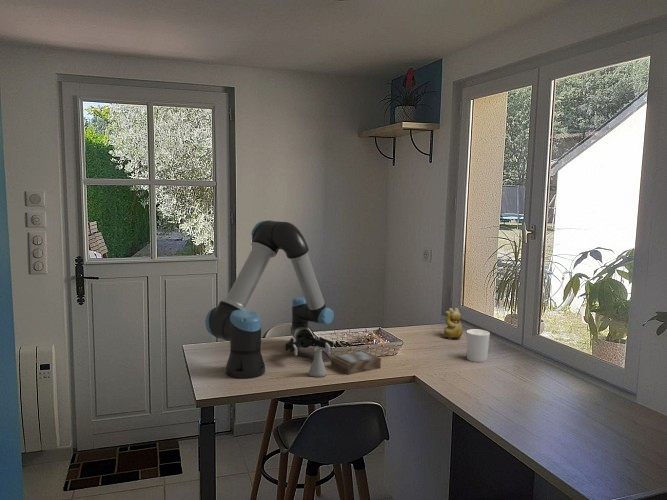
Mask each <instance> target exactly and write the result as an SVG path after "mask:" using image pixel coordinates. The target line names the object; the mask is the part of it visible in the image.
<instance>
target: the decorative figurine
mask: <svg viewBox="0 0 667 500" xmlns="http://www.w3.org/2000/svg"><path fill="white" fill-rule="evenodd" d="M444 314H445V315H446V318H445V323H446V325H447V327H445V328H444V329H443V337H445V338H446V337H448V338H447V339H449V338H450V339H449V340H451V339H453V340H458V339H457V338H459V339H460V338H461V337H462V335H463V326H462V323H461V319H462V314H461V313H460V310H459V308H458V307H455V308H454V309H453V308H452V307H449V308H448V310H446V311H444Z"/></svg>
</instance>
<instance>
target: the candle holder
mask: <svg viewBox="0 0 667 500" xmlns="http://www.w3.org/2000/svg"><path fill="white" fill-rule="evenodd" d="M490 336H491V333H490V331H487V330H485V329H480V328H479V329H476V328H474V329H472V328H471V329H467V330H466V359H467V360H468V361H471V362H475V363H484V362H487V360H488V354H489V353H488V352H489V344H490Z"/></svg>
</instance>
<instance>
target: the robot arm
mask: <svg viewBox="0 0 667 500" xmlns="http://www.w3.org/2000/svg"><path fill="white" fill-rule="evenodd" d="M251 240H252V241H251V243H250V246H251V251H250V252H249V254H248V256H247V259H246V261H244V263H243V266H242V267H241V270H240V272H239V273H238V275H237V277H236V279H235V281H234V282H233V284H232V287H231V288H230V290H229V292H228V293H227V295H226V298H224V299H222V300H220V301H219V304H218V305H217V306H216V307H213V308H211V309H210V310H209V311H208V312H207V314H206V316H205V319H204V320H205V321H204V322H205V323H204V324H205V327H206V331H207V332H208V333H209V334H210V335H211V336H213V337H215V338H216V339H222V340H224V341H228V342H229V345H230V347H229V348H230V351H229V355H228V358H227V362H226V364H225V374H226V376H228V377H231V378H234V379H235V378H236V379H253V378H257V377H260V376H263V375H264V374H265V373H266V364H265V361H264V358H263V355H262V325H263V324H262V317H261V315H260V314H259V313H257V312H256V311H254V310H250V309H249V310H247V309H246V307H247V305H248V303H249V301H250V299H251V297H252V295H253V293H254V292H255V289H256V288H257V285H258V284H259V282H260V280H261V278H262V276H263V273H264V272H265V270H266V268H267V265H268V264H269V262H270V260H271V259H272V258H275V257H276V256H277V254H278V252H279V251H280V250H282V251H283V252H284V253H285V255H286V258H287V259H288V260H290V261H291V264H292V266H293V269H294V272H295V275H296V278H297V281H298V283H299V286H300V288H301V291H302V294H303V296H299V297H294V298H293V299H292V301H291V302H292V304H291V311H292V312H291V326H290V334H291V336H292V337H291V338H290V339H289V341H288V342H287V341H286V343H284V344H285V345H284V346H285V351H288V350H289V353H293V354H294V355H295V356H298V350H299V349H298V348H302V349H307V348H309V347H313V348H315V347H316V348H322V349H325V350H326V352H327V354H331V350H332V348H331V347H333V348H334V341H332V340H328V339H326V338H324V337H322V336H319V337H318V338H316V337H314V335H313V333H312V332H311V330H310V329H309V322H311V323H314V324H319V325H324V326H328V325H330V324H331V323H332V322H333V321H334V317H335V316H334V311H333V309H331V308H330V307H327V305H326V303H325V299H324V296H323V293H322V291H321V288H320V285H319V282H318V279H317V277H316V273H315V270H314V267H313V265H312V262H311V259H310V257H309V251H310V249H309V246H308V243H307V241H306V239H305V237H304V235H303V234H302V232H301V230H299V228H298V227H297V226H296V225H294V224H293V223H291V222H289V221H279V220H277V221H276V220H271V219H269V220H268V219H267V220H261V221H259V222H257V223H256V224H255V225H254V227H253V229H252V230H251Z"/></svg>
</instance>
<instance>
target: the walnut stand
mask: <svg viewBox="0 0 667 500" xmlns="http://www.w3.org/2000/svg"><path fill="white" fill-rule="evenodd" d="M381 360H382V359H381V358H380V357H379V356H376V355H374V354H371V353H369V352H367V351H364V350H362V351H355V352H349V353H343V354H337V355H331V356H330V366H331V368H332V367H333V368H334V369H335V370H338V371H340V372H341V373H344V374H346V375H352V374H358V373H362V372H363V373H364V372H367V371H373V370H377V369H381V366H382V365H381V362H382V361H381Z"/></svg>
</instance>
